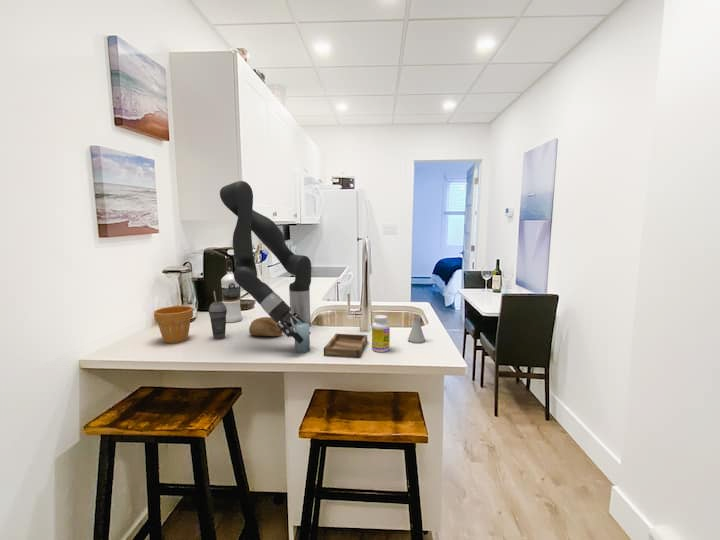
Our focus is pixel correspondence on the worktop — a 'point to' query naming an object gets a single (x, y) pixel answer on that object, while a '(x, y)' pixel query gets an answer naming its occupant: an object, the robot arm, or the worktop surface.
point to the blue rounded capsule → (304, 333)
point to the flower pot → (174, 322)
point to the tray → (345, 345)
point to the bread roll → (265, 327)
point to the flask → (416, 331)
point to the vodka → (231, 295)
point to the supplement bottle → (380, 334)
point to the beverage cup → (218, 318)
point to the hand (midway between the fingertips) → (305, 338)
